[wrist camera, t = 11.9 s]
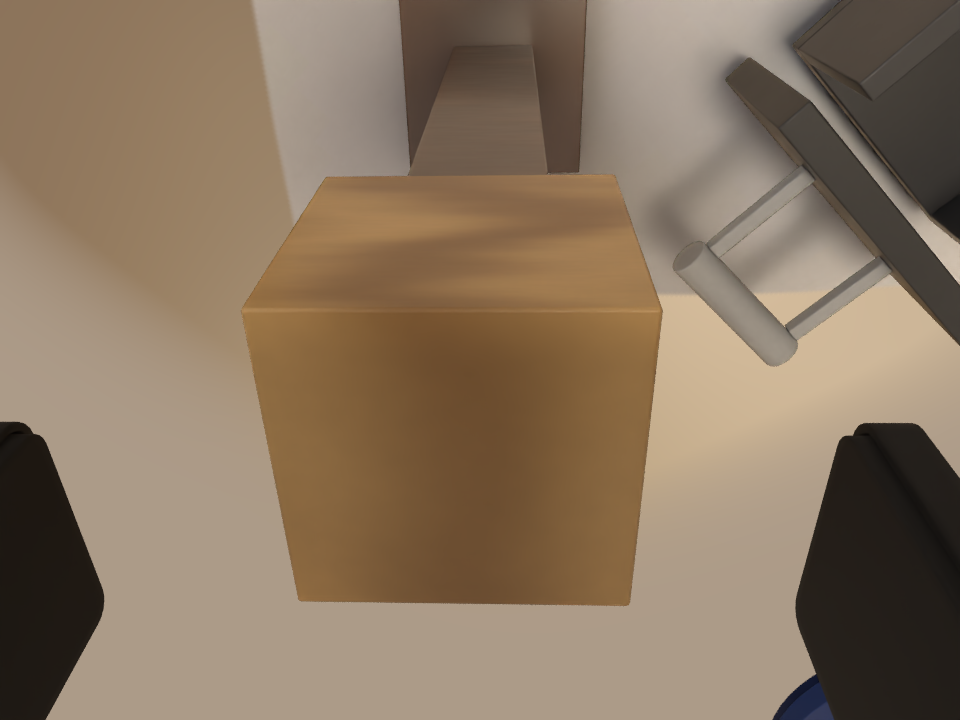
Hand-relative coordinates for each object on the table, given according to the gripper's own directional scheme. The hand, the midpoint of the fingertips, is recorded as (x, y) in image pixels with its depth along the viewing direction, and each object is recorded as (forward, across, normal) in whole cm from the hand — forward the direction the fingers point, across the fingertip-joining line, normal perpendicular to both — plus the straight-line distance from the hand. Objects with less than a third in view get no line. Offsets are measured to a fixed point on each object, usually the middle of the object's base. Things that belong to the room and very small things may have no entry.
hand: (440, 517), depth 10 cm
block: (+6, 0, 0) cm, 6 cm away
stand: (+26, 0, 0) cm, 26 cm away
